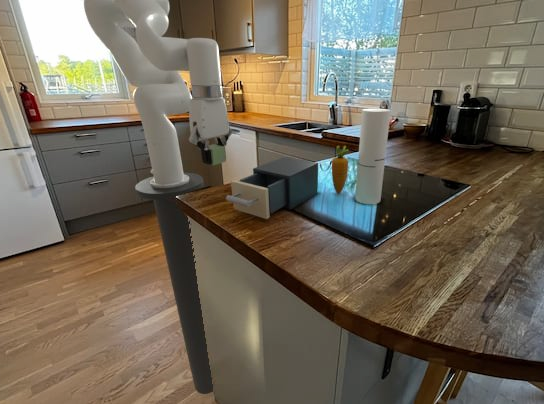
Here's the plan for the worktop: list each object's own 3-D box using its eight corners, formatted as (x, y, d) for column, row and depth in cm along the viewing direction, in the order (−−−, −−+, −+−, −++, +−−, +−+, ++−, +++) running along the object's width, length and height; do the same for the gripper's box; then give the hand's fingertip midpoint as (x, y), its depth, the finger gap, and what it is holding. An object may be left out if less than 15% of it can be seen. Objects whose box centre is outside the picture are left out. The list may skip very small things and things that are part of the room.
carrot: (342, 190, 93) (344, 142, 87) (349, 196, 89) (352, 146, 83) (327, 192, 92) (329, 144, 86) (334, 198, 87) (336, 147, 81)
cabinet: (290, 210, 80) (289, 176, 76) (255, 200, 87) (252, 168, 83) (317, 193, 91) (318, 162, 87) (284, 185, 98) (283, 157, 94)
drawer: (255, 226, 70) (253, 195, 67) (221, 214, 76) (218, 185, 73) (297, 201, 83) (297, 174, 80) (266, 193, 89) (264, 168, 86)
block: (203, 162, 84) (201, 147, 82) (215, 159, 87) (213, 144, 85) (214, 165, 81) (212, 149, 79) (225, 161, 85) (224, 146, 83)
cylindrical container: (385, 202, 84) (396, 110, 74) (361, 205, 82) (370, 112, 72) (373, 193, 90) (381, 108, 80) (351, 196, 89) (357, 109, 79)
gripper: (221, 90, 85) (227, 153, 92) (169, 94, 72) (180, 166, 80) (240, 91, 81) (245, 157, 88) (189, 95, 68) (199, 171, 76)
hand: (214, 160), depth 84 cm, fingers closed on block, 4 cm apart
